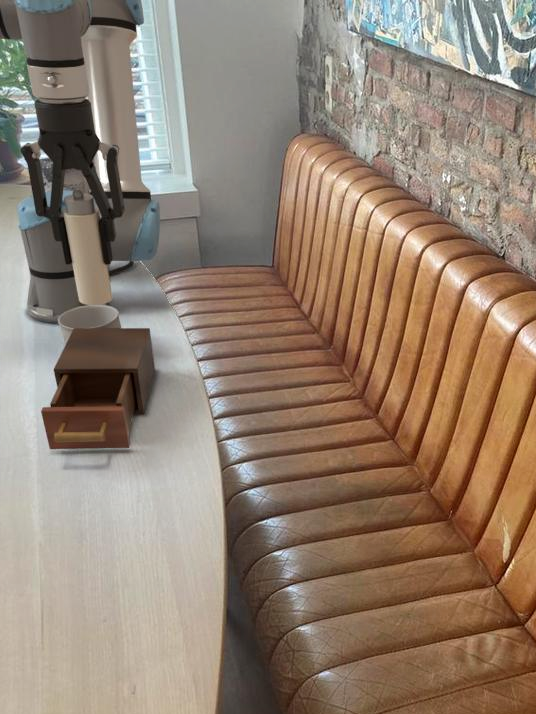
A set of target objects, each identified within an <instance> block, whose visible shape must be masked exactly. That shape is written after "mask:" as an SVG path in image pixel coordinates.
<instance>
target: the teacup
mask: <svg viewBox="0 0 536 714" xmlns="http://www.w3.org/2000/svg"><path fill="white" fill-rule="evenodd" d="M57 324H58V326H59V327H60V331H61V335H62V338H63V341H64V344H65V345H66V343H67V341H68V339H69V337H70V335H71V333H72V331H73V329H74V328H122V324H121V319H120V312H119V310H118V309H117V308H115V307H114V306H110V305H107V303H105V304H101V305H87V306H81V307H77V308H74V309H71V310H69V311H66V312H65V313H63V314H62V315H61V316H60V317H59V318H58V323H57ZM65 345H64V346H65Z"/></svg>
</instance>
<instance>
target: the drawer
mask: <svg viewBox="0 0 536 714" xmlns="http://www.w3.org/2000/svg"><path fill="white" fill-rule="evenodd" d="M136 403H137V396H136V389H135V382H134V376H133V373H64V375H63V377H62V379H61V381H60V383H59V386H58V388H56V390H55V392H54V394H53V397H52V399H51V401H50V403H49V405H50V406H44V407H42V408H41V410H40V413H41V417H42V422H43V426H44V430H45V435H46V439H47V444H48V449H49V450H89V449H129V448H130V447H131V440H130V434H129V433H130V428H131V424H132V420H133V417H134V415H133V414H134V410H135V407H136Z"/></svg>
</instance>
